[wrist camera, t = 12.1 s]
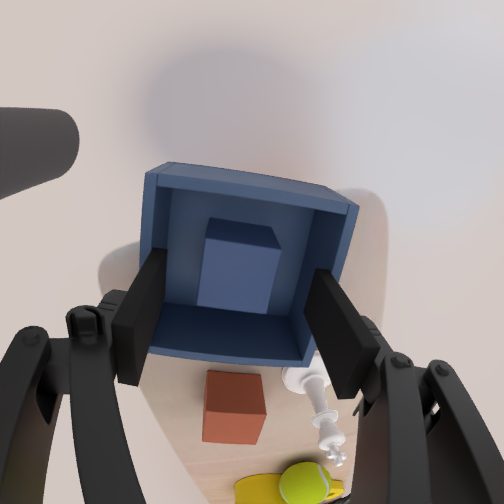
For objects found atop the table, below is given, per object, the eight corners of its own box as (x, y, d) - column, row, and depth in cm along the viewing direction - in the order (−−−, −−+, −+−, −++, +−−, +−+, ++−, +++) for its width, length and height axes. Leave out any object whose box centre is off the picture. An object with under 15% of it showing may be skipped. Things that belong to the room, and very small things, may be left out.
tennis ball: (337, 479, 31) (342, 503, 25) (292, 497, 32) (291, 523, 25) (317, 446, 33) (320, 468, 27) (271, 465, 33) (267, 488, 27)
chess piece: (310, 394, 26) (336, 482, 17) (270, 378, 25) (287, 476, 16) (346, 361, 25) (387, 449, 16) (306, 341, 24) (342, 441, 15)
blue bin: (157, 303, 21) (140, 352, 16) (168, 161, 18) (144, 172, 13) (292, 318, 23) (309, 368, 18) (325, 186, 19) (360, 205, 14)
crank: (226, 491, 34) (227, 524, 29) (248, 471, 32) (251, 508, 26) (325, 495, 38) (331, 522, 33) (354, 475, 36) (363, 504, 30)
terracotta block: (203, 403, 26) (202, 442, 22) (207, 370, 24) (205, 411, 20) (251, 406, 26) (256, 445, 22) (260, 374, 25) (267, 414, 21)
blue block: (200, 274, 20) (195, 305, 17) (209, 216, 19) (204, 237, 15) (259, 282, 21) (266, 314, 17) (272, 227, 19) (282, 249, 16)
